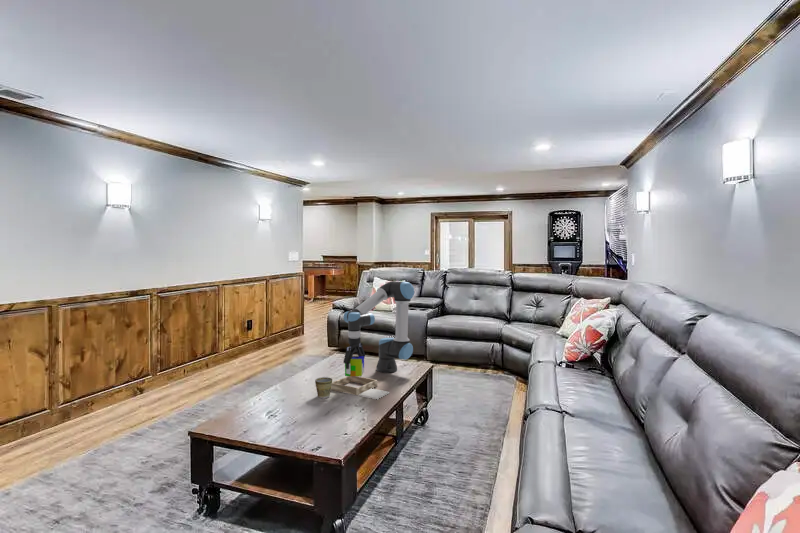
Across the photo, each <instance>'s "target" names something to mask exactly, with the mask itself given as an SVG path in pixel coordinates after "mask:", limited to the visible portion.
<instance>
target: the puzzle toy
mask: <svg viewBox="0 0 800 533" xmlns="http://www.w3.org/2000/svg"><path fill="white" fill-rule="evenodd" d="M350 373H351V374H346V363H344V376H345V377H347V376H359V377H363V374H364V373H365V358H364V356H358V355H353V356H352V358H351V361H350Z"/></svg>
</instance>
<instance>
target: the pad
mask: <svg viewBox="0 0 800 533" xmlns="http://www.w3.org/2000/svg"><path fill="white" fill-rule="evenodd" d="M387 394H388V395H390V391H386V390H383V389H377V388H373V389H372V388H371V389H369V390H367V391H365V392H363V393H361V394H359V395H358V396H359V397H363V398H367V399H368V398H369V399H371V398H372V399H371V400H376V399H377V400H380V399H382V398H384V397H386V396H387ZM385 395H386V396H385ZM383 396H384V397H383ZM381 397H382V398H381ZM379 398H380V399H379Z"/></svg>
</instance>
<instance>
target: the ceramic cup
mask: <svg viewBox="0 0 800 533" xmlns="http://www.w3.org/2000/svg"><path fill="white" fill-rule="evenodd" d="M314 381H315V382H314V383H315V388H316V394H317V397H318V398H319V399H327V398H329V397H330V395H331V391H332V390H331V385H332V382H333V378H332V377H328V376H326V377H325V376H322V377H318V378H316V379H315V380H314Z"/></svg>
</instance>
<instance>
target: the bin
mask: <svg viewBox="0 0 800 533" xmlns="http://www.w3.org/2000/svg"><path fill="white" fill-rule="evenodd" d="M355 382H356V384H362V385H361V386H359V387H353V386H349V385H346V384H349V383H355ZM376 386H377V387H378V379H374V378H369V377H368V378H367V377H363V376H345V377H342V378H340V379H337V380H335V381H332V385H331V391H335V392H339V393H340V392H341V393H344V394H345V393H346V394H347V395H348V394H349V395H354V396H359V394H361V393H363V392H365V391H367V390H369V389H371V388H373V389H375V388H377V387H376ZM374 387H375V388H374Z"/></svg>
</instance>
